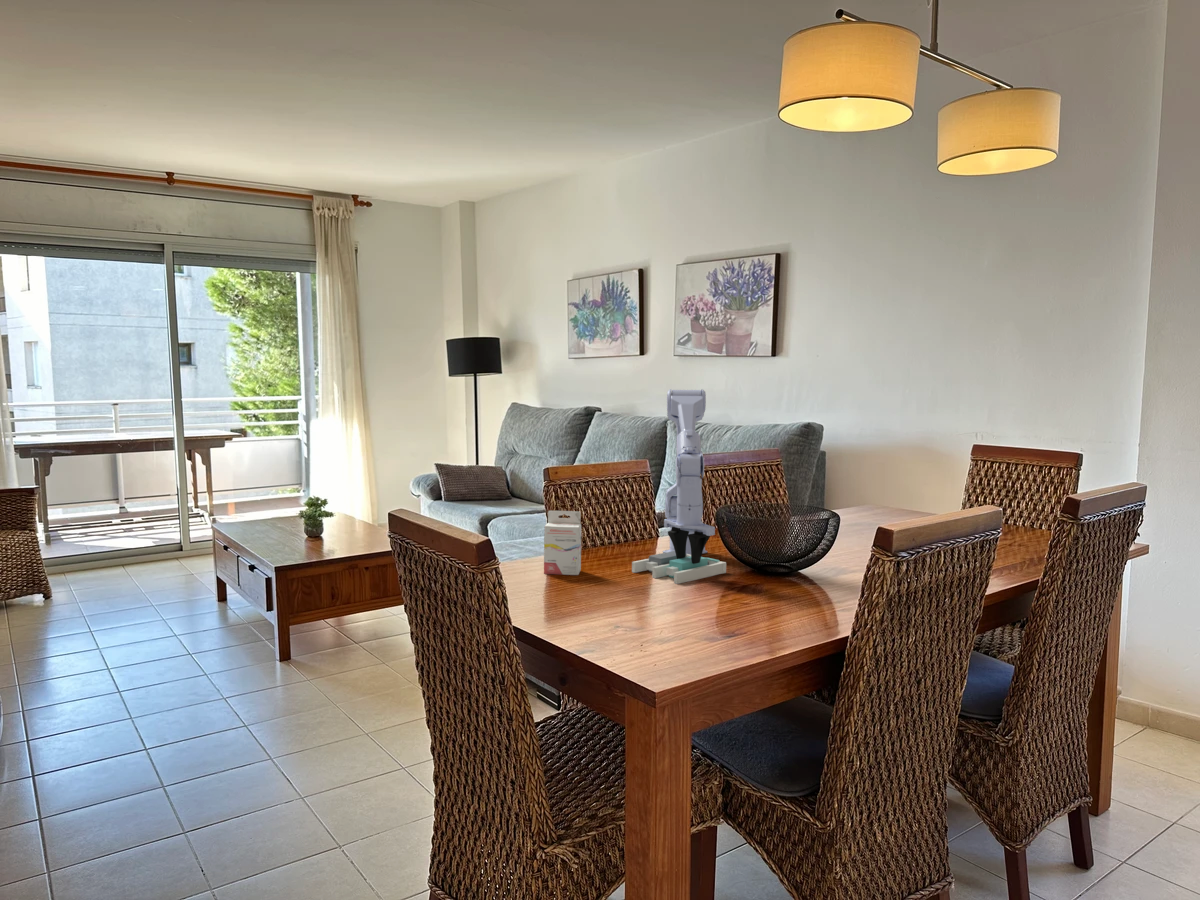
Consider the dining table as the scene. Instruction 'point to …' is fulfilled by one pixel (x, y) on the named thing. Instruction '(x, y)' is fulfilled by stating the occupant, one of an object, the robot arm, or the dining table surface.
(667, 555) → the grey plug
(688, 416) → the robot arm
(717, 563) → the cable comb
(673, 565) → the teal plug
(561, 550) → the ink cartridge box
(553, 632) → the dining table surface
